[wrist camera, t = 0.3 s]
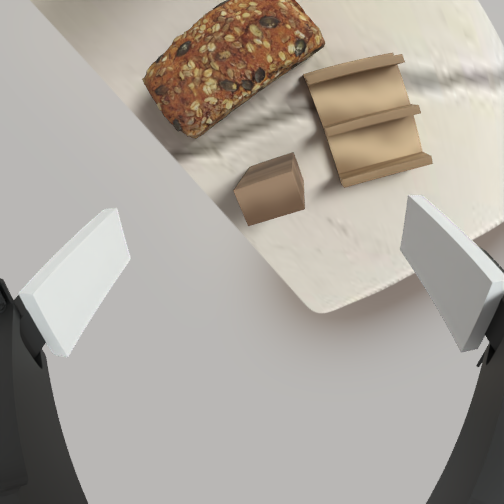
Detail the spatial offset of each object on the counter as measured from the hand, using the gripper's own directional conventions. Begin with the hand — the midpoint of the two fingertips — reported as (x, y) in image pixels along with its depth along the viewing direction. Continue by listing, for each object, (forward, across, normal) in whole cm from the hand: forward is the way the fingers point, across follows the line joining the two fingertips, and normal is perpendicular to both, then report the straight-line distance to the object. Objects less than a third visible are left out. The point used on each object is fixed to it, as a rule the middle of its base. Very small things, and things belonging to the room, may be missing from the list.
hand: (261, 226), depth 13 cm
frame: (+27, +1, -5) cm, 28 cm away
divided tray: (+26, +13, +2) cm, 29 cm away
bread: (+28, -3, +10) cm, 30 cm away
